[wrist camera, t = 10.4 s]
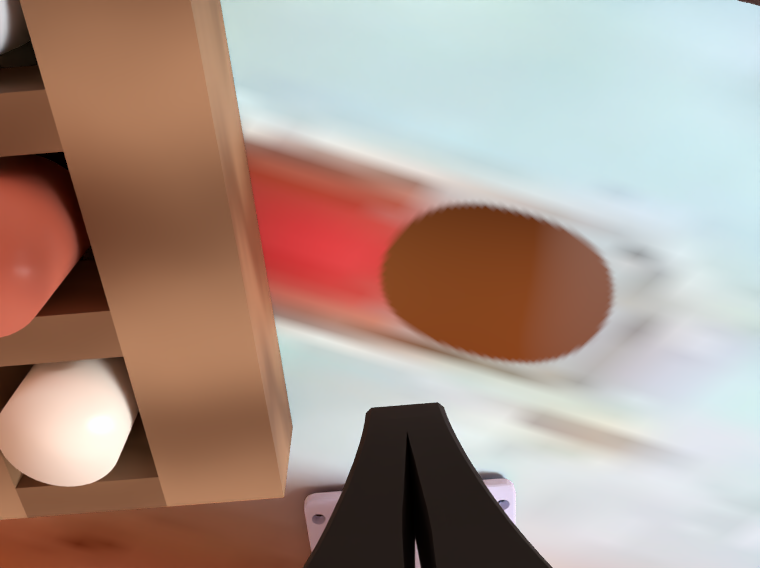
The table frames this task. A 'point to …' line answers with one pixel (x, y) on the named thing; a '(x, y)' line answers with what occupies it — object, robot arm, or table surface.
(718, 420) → the table surface
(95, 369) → the cream plug
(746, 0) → the box
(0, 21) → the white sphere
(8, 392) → the light brown rack
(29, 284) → the salmon pink egg
